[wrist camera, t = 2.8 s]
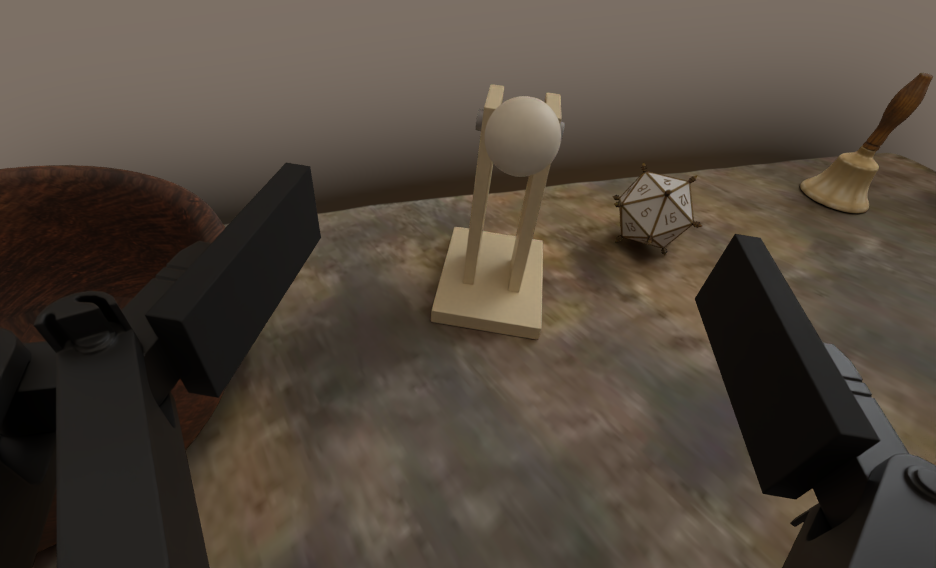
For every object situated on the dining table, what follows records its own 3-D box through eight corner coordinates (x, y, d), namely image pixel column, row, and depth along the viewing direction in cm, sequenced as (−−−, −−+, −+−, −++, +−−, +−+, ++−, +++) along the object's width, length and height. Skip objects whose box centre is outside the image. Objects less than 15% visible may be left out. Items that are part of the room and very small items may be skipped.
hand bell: (826, 178, 65) (909, 61, 55) (881, 209, 60) (986, 86, 49) (786, 184, 63) (866, 62, 52) (840, 217, 57) (941, 89, 46)
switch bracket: (538, 340, 37) (597, 150, 26) (430, 322, 37) (442, 126, 26) (540, 251, 46) (585, 80, 35) (453, 237, 46) (470, 63, 35)
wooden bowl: (338, 344, 35) (321, 237, 28) (-66, 784, 17) (-379, 793, 10) (110, 238, 41) (51, 129, 34) (-353, 483, 24) (-667, 363, 17)
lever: (555, 187, 20) (573, 102, 19) (476, 175, 20) (489, 89, 19) (538, 154, 33) (549, 102, 32) (490, 146, 33) (498, 95, 32)
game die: (611, 260, 52) (589, 176, 50) (683, 237, 52) (664, 150, 49) (643, 277, 43) (617, 176, 41) (729, 249, 43) (708, 145, 41)
